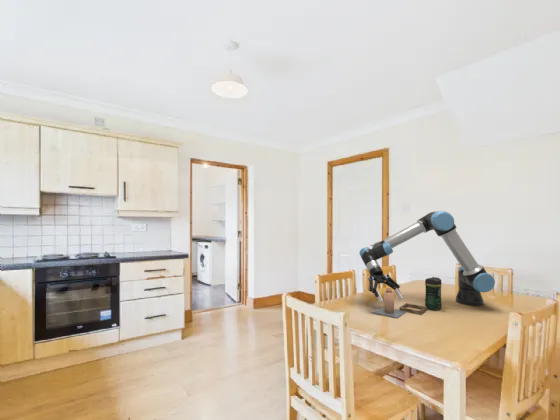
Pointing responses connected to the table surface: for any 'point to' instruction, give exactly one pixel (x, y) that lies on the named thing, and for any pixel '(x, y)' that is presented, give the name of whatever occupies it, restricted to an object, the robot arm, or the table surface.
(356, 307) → the table surface
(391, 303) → the terracotta spice bottle
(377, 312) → the plate
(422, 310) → the walnut frame
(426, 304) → the coffee jar
